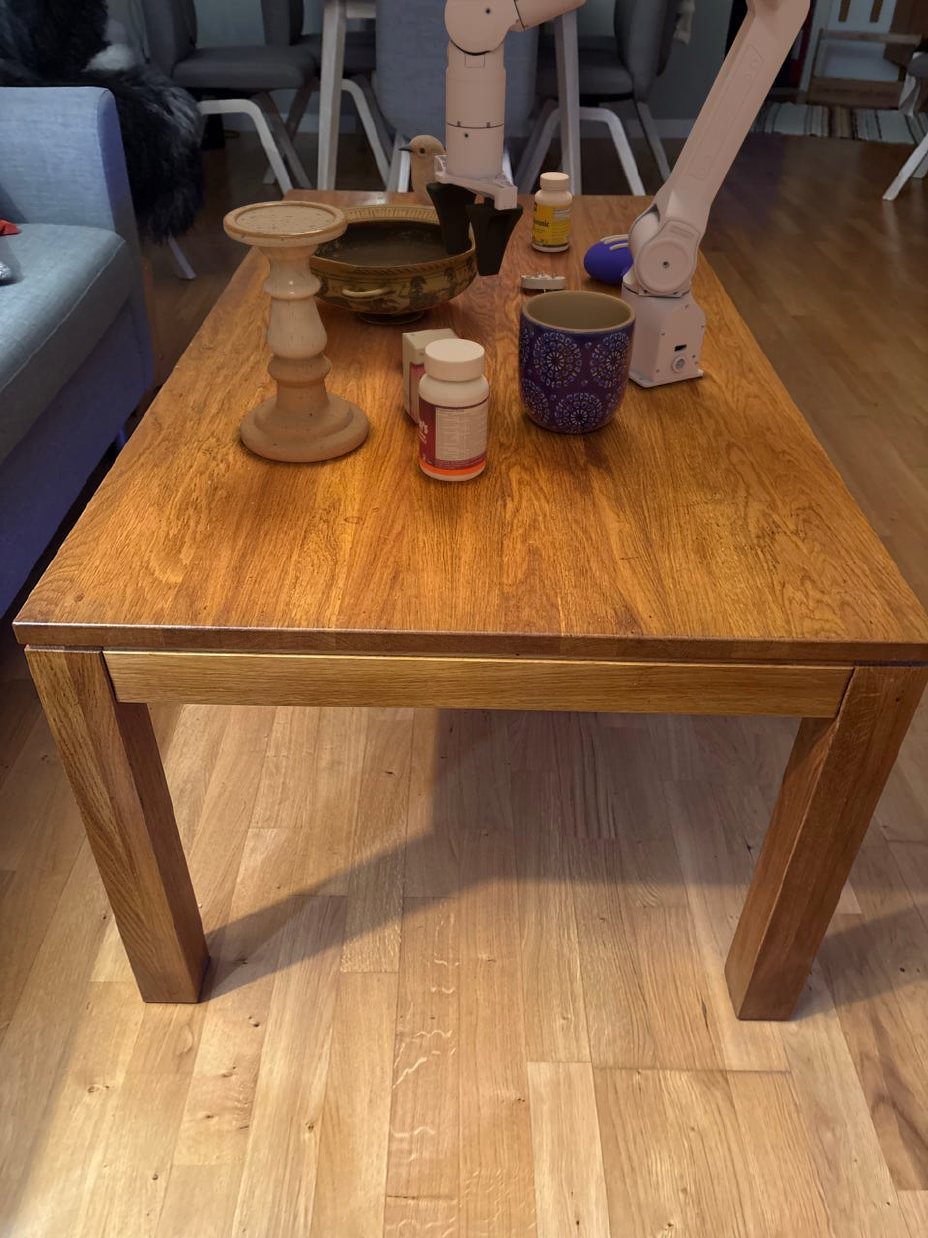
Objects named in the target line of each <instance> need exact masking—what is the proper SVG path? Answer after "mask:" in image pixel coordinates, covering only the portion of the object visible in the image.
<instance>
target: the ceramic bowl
mask: <svg viewBox="0 0 928 1238" xmlns="http://www.w3.org/2000/svg"><path fill="white" fill-rule="evenodd" d="M337 208H338V209H340V210H342V211H343V212H344V213H345V214H346V216H347V220H348V226H347V229H346V231H345V232H344V233H343V234H342V235H341V236H339V237H337V238H335V239H333V240H330V241H327V242H324V243H321V244H318V247H317V249H316V251H315V252H314V253H313V254H312V255H311V258H310V270H311V273H312V274H313V275H314V276H315V277H316V278H317V279H318V280H319V281H320V284H321V287H320V290H319V291H318V292H317V293H316V294H314V296H315V298H318V299H320V300H321V301H324V302H325V303H328V304H330V305H333V306H335V307H337V308H342V309H345V310H349V311H354V312H357V314H358V318H360V319H361V320H362V321H364V322H368V323H369V324H370V323H371V324H376V325H387V326H389V325H390V326H391V325H402V324H409V323H411V322H415V321H417V320H419V319H421V318H422V316H423V315H424V313H425V311H424V310H428V309H431V308H435V307H438V306H441V305H442V304H444V303H447V302H449V301H451V300H453V299H454V298H456V297H458V296H460V295H461V294H462V293H464V292H465V291H466V290H467V289H468V288H469V287H470V286H471V285H472V283H474V281H475V279H476V277H477V275H478V270H477V264H476V250H475V240H474V234H473V229H472V226H471V222H470V228H469V238H468V245H467V249H466V253H461V254H454V255H448V254H447V253H446V250H445V246H444V242H443V237H442V232H441V227H440V223H439V219H438V216H437V212H436V210H435V207H434V206H423V205H421V204H409V203H378V204H363V205H352V206H351V205H350V206H344V207H337Z"/></svg>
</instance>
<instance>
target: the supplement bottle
mask: <svg viewBox="0 0 928 1238" xmlns="http://www.w3.org/2000/svg"><path fill="white" fill-rule="evenodd" d="M569 182H570V176H569V175H568V174H566V173H564V172H556V171H554V172H552V171H551V172H550V171H549V172H545V173H542V174H541V175H540V177H539V187H540V188H541V189H539V190H538V191H536V193H535V195H534V201H533V216H532V217H533V219H532V237H531V239H532V240H531V245H532V247H533V248H534V249H536V250H537V251H541V252H545V253H559V252H563V251H566V250H567V249H568V248H569V246H570V236H571V235H570V234H571V224H572V223H571V222H572V211H573V210H572V209H573V195H572V194H571V191H568V190H567V189H569V185H570V184H569Z"/></svg>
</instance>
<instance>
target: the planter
mask: <svg viewBox="0 0 928 1238" xmlns="http://www.w3.org/2000/svg"><path fill="white" fill-rule="evenodd" d="M519 315H520V317H519V327H518V328H519V330H518V343H517V344H518V345H517V387H518V390H517V391H518V396H519V400H520V403H521V405H522V408H523V409H524V411H525V413H526V415H527V416H528V417H529V418H530V419H531V420H532V421H533V422H535V424H537V425H538V426H539V427H542V428H543V429H546V430H549V431H552V432H556V433H561V434H569V435H570V434H571V435H572V434H586V433H591V432H594V431H597V430H599V429H601V428H602V427H604V426H606V425H608V423H609V422H611V421H612V420H613V418H614V417H615V416H616V415H617V414H618V412H619V410H620V409H621V407H622V405H623V402H624V400H625V396H626V391H627V387H628V383H629V379H630V378H629V373H630V366H631V359H632V353H633V345H634V337H635V328H636V311H635V310H634V308H633V307H632V306H631V305H630V304H628V303H627V302H625V301H623V300H621V298H619V297H616V296H613V295H610V294H605V293H601V292H596V291H590V290H589V291H588V290H574V289H573V290H554V291H548V292H547V291H546V292H544V293H540V294H536V295H534V296H531V297H530V298H527V300H525V301H524V302H523V303H522V305H521V307H520V314H519Z"/></svg>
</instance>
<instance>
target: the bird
mask: <svg viewBox="0 0 928 1238" xmlns="http://www.w3.org/2000/svg"><path fill="white" fill-rule="evenodd" d="M397 150H398V151H400V152H408V155H409V159H410V168H411V176H410V177H411V186H412V187H411V188H412V191H413V193H414V195H415V197H416V199H417V201H418V202H419V205H423V206H434V204H433V202H432V200H431V198H430V196H429V194H428V192H427V190H426V185H427V184H429V183H435V182H438V181H436V180H435V175H434V156H440V155H446V149H445V147H444V146H443V143H442V142H441V141H440V140H439V139H437V138H436V137H435V136H432V135H429V134H421V135H416V136H414V137H413V138H412V139H411V140H410V142H409V143H407V144H405V145H403V146H401V147H399V148H398V149H397ZM474 204H477V203H476V201H475V202H474Z"/></svg>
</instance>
